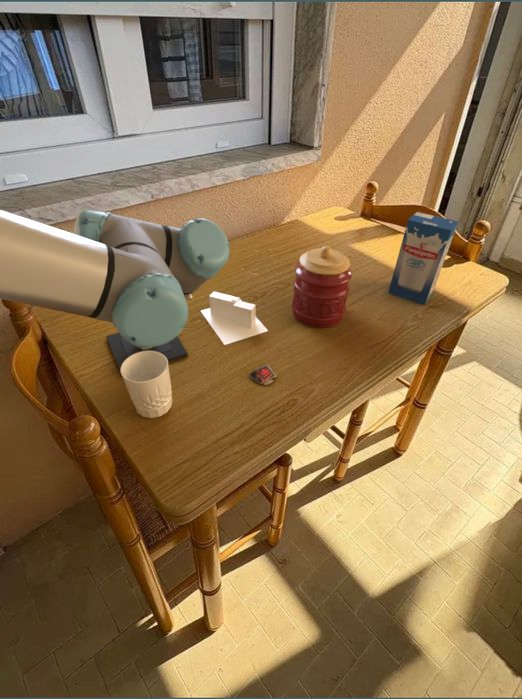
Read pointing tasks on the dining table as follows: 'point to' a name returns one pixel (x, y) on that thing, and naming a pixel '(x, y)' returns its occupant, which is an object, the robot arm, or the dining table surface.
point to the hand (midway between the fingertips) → (131, 322)
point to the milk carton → (421, 256)
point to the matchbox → (263, 375)
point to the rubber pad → (126, 349)
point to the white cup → (148, 383)
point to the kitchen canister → (321, 287)
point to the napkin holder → (232, 318)
